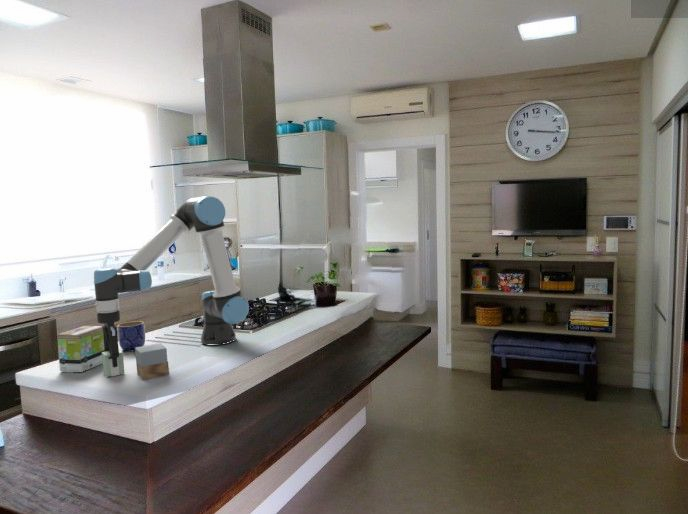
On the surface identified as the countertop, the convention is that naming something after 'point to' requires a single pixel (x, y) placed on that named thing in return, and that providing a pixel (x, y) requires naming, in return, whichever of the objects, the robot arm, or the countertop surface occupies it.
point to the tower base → (152, 370)
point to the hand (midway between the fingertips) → (113, 372)
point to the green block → (107, 363)
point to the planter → (131, 335)
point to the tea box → (80, 348)
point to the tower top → (151, 354)
